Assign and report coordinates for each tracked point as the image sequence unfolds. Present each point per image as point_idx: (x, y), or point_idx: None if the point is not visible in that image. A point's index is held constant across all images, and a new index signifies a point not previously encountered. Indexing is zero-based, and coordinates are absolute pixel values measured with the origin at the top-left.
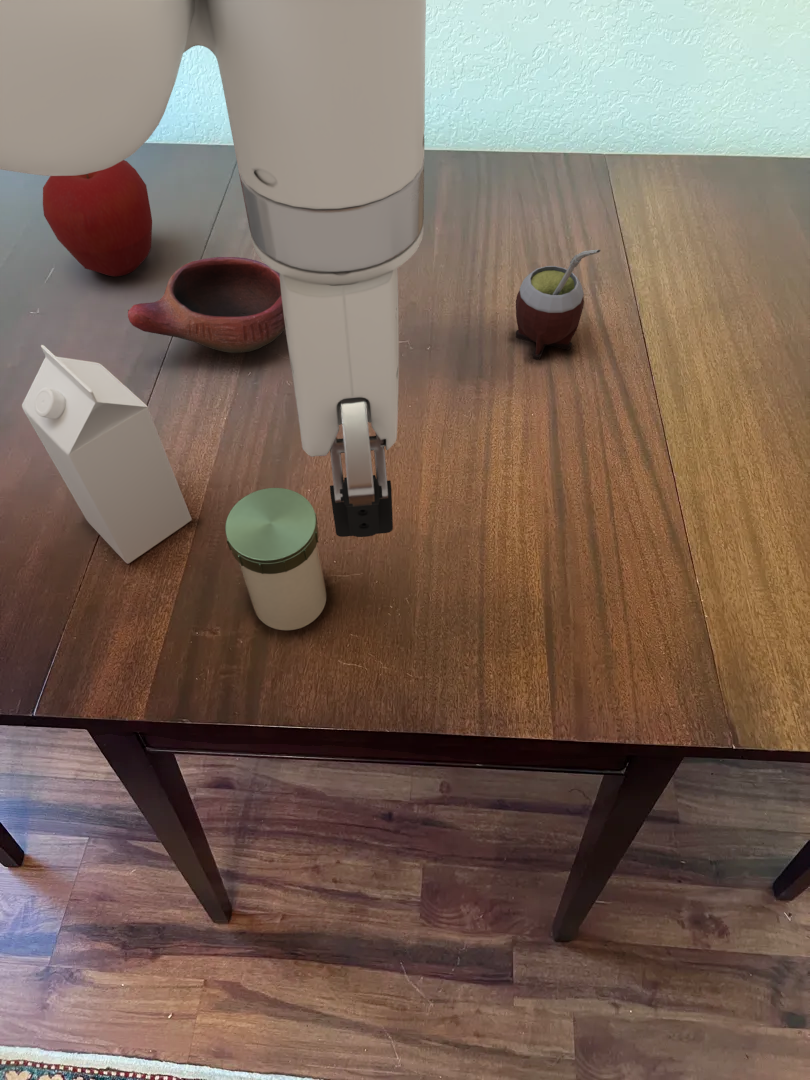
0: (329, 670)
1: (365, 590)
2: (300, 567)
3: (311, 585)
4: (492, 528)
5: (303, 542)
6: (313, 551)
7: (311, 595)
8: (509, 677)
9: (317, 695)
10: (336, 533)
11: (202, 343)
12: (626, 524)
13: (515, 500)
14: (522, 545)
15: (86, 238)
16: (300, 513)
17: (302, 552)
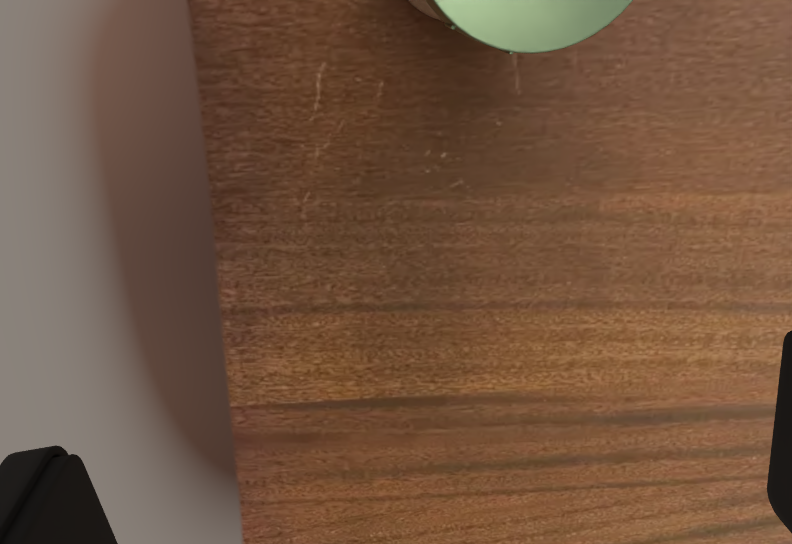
0: (301, 47)
1: (479, 102)
2: None
3: (435, 14)
4: (602, 320)
5: (469, 25)
6: None
7: (426, 9)
8: (316, 349)
9: (246, 28)
10: (6, 460)
11: None
12: (590, 502)
13: (657, 354)
14: (563, 365)
15: None
16: (570, 2)
17: (447, 20)
